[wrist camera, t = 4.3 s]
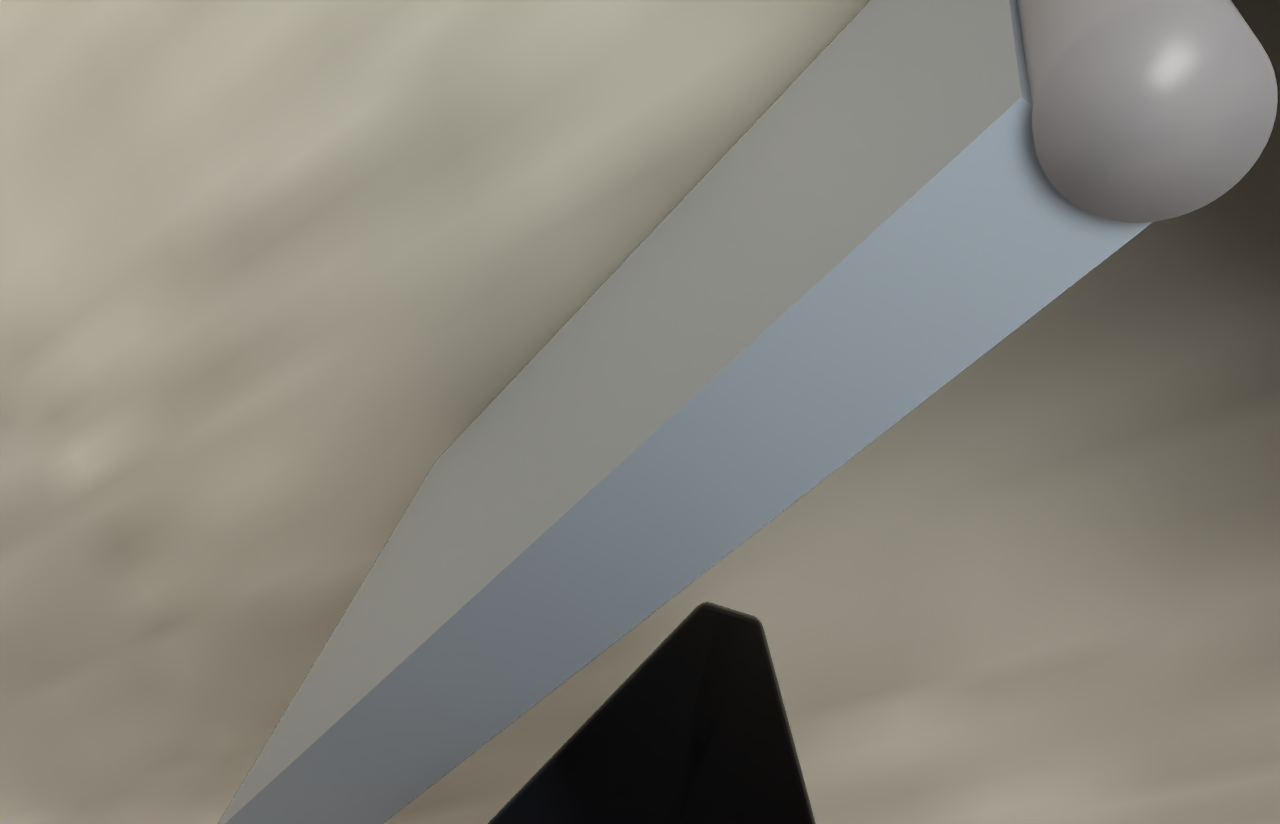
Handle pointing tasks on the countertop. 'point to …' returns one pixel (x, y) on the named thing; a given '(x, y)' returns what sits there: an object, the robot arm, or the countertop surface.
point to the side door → (762, 354)
